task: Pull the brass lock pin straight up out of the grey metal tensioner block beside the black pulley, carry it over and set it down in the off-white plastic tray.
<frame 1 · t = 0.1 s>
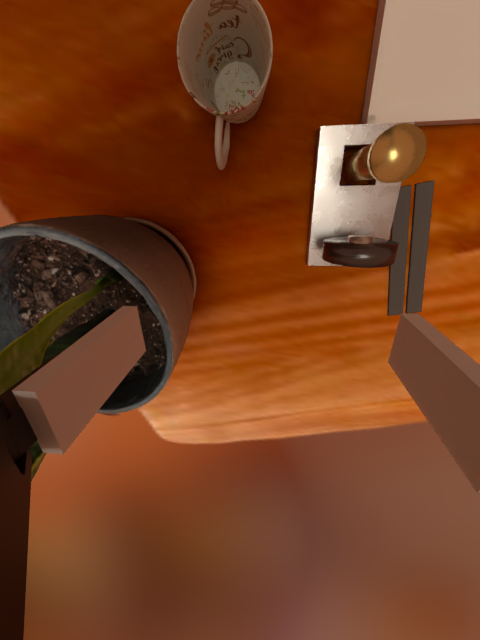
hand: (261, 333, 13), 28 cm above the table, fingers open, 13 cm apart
tray: (444, 31, 27), on the table
tensioner block: (349, 201, 35), on the table
pin: (354, 167, 33), resting in tensioner block
pair of grey strips: (407, 255, 37), on the table
mug: (235, 115, 32), on the table
potted plant: (148, 278, 43), on the table
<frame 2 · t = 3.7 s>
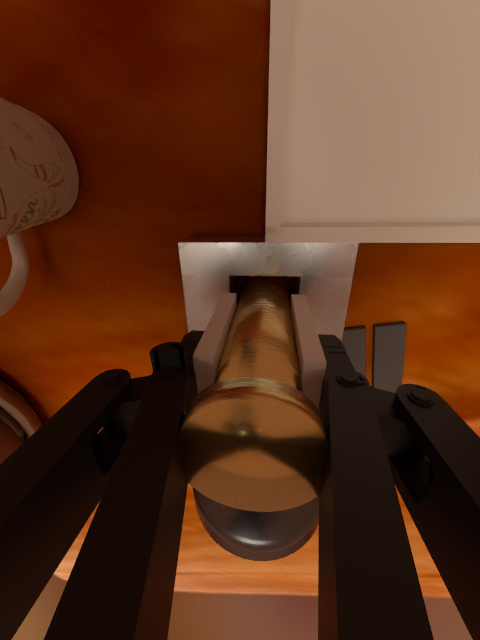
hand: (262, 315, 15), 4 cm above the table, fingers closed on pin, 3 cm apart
tray: (416, 62, 13), on the table
tensioner block: (263, 343, 20), on the table
pin: (264, 294, 19), resting in tensioner block, touching gripper
pair of grey strips: (367, 418, 22), on the table
mug: (44, 205, 18), on the table
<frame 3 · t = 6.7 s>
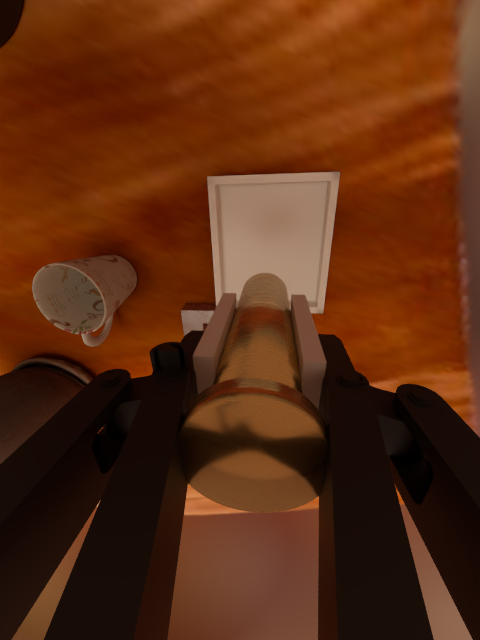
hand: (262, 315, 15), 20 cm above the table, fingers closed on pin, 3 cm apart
tray: (270, 246, 34), on the table
tensioner block: (222, 351, 41), on the table
pin: (264, 294, 19), point 17 cm above the table, touching gripper
mug: (119, 289, 39), on the table
potted plant: (69, 394, 50), on the table
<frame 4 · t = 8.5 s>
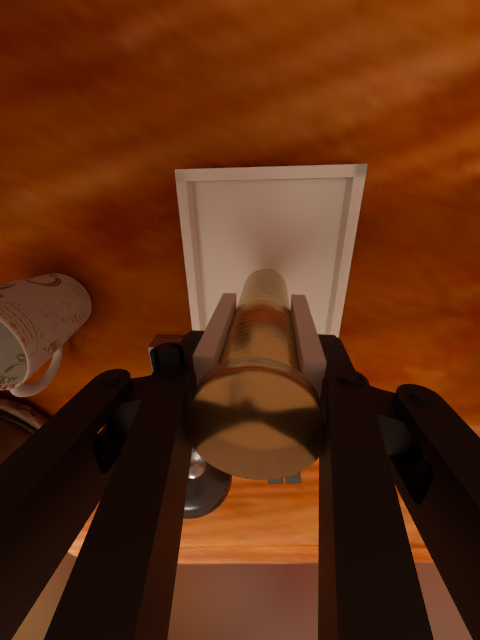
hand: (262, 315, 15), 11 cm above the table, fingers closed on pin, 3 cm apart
tray: (265, 266, 25), on the table
tensioner block: (205, 392, 33), on the table
pin: (265, 290, 19), point 6 cm above the table, touching gripper
mug: (70, 315, 30), on the table
potted plant: (22, 435, 41), on the table
when the fingers open (6 cm above the table, at t = 10.1 s): pin stays where it is, resting on tray.
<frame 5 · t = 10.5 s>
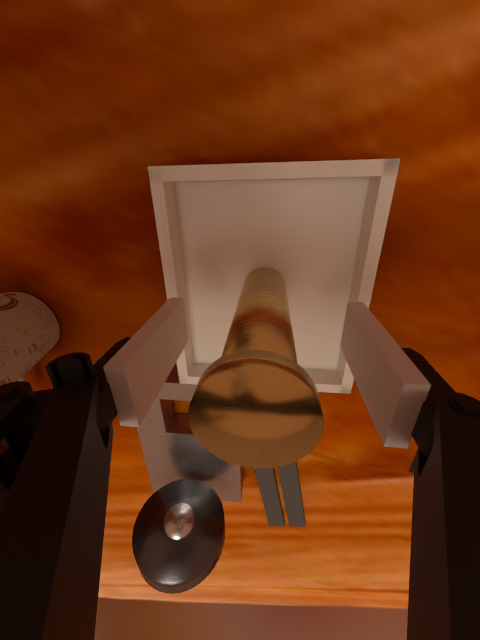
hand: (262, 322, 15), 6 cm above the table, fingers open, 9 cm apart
tray: (265, 285, 20), on the table
tensioner block: (195, 427, 28), on the table
pin: (264, 288, 20), point 1 cm above the table, touching tray
pair of grey strips: (277, 477, 30), on the table
mug: (36, 339, 26), on the table
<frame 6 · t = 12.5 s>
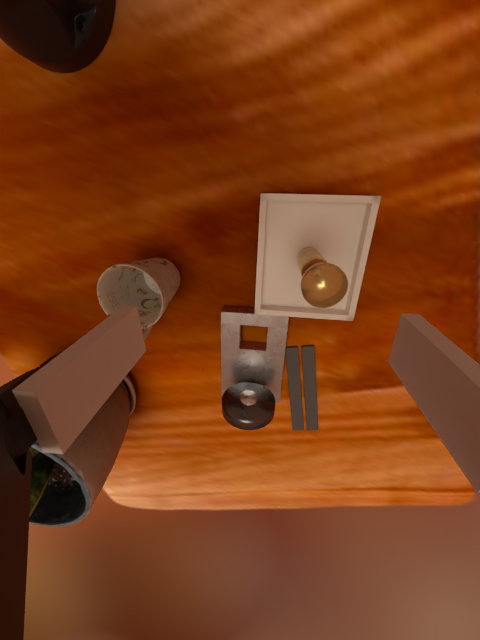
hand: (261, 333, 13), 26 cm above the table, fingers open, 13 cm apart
tray: (308, 258, 37), on the table
tensioner block: (253, 351, 44), on the table
pin: (308, 258, 36), point 1 cm above the table, touching tray
pair of grey strips: (302, 390, 46), on the table
mug: (161, 289, 42), on the table
potted plant: (99, 386, 52), on the table
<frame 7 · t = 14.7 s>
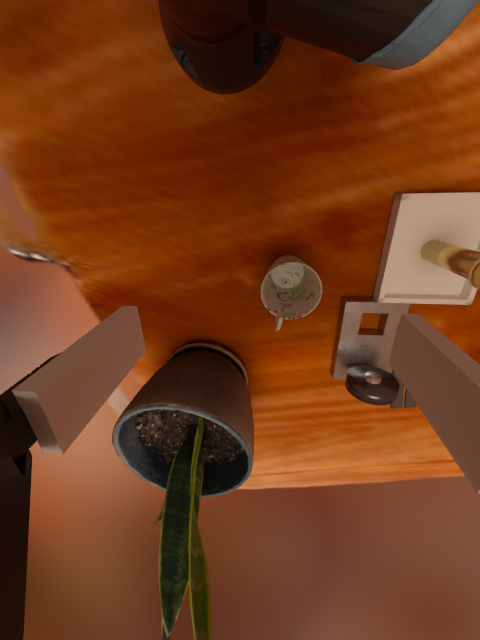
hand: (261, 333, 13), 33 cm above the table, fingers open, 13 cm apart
tray: (430, 249, 41), on the table
tensioner block: (363, 337, 49), on the table
pin: (431, 250, 40), point 1 cm above the table, touching tray
pair of grey strips: (405, 371, 51), on the table
mug: (284, 283, 46), on the table
potted plant: (209, 375, 57), on the table
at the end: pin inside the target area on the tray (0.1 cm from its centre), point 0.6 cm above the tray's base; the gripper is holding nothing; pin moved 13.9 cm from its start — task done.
